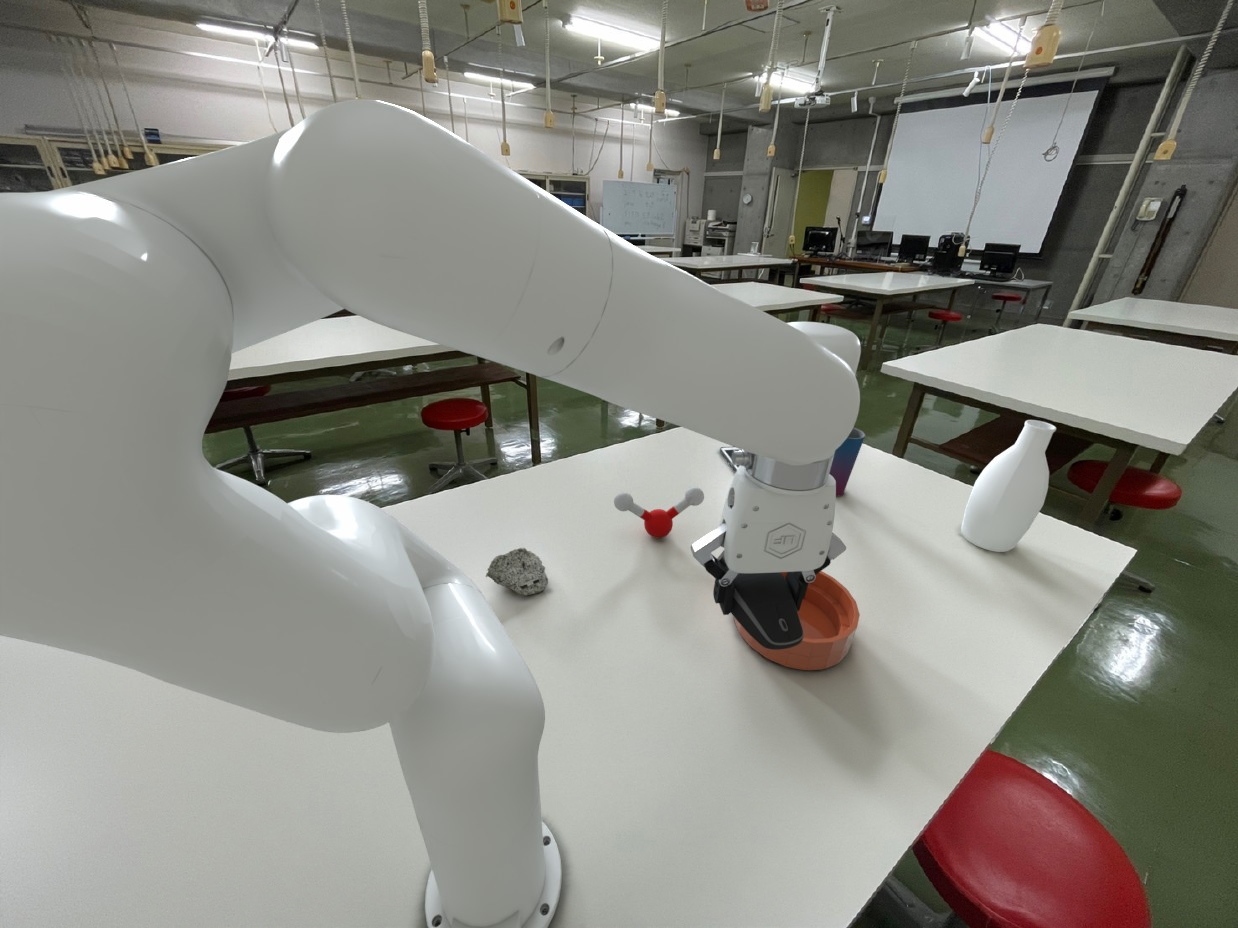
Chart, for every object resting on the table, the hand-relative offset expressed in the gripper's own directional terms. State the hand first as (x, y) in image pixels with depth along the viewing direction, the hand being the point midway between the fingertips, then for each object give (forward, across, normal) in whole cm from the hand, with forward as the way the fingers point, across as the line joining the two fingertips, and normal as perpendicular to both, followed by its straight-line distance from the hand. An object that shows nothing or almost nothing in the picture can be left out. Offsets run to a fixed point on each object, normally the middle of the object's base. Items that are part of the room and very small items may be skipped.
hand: (756, 602), depth 55 cm
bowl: (+20, +14, +15) cm, 29 cm away
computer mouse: (+1, 0, 0) cm, 1 cm away
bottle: (+21, +64, +35) cm, 76 cm away
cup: (+21, +40, +55) cm, 71 cm away
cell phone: (+21, +23, +69) cm, 76 cm away
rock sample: (+20, -28, +28) cm, 44 cm away
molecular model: (+20, -3, +40) cm, 45 cm away
